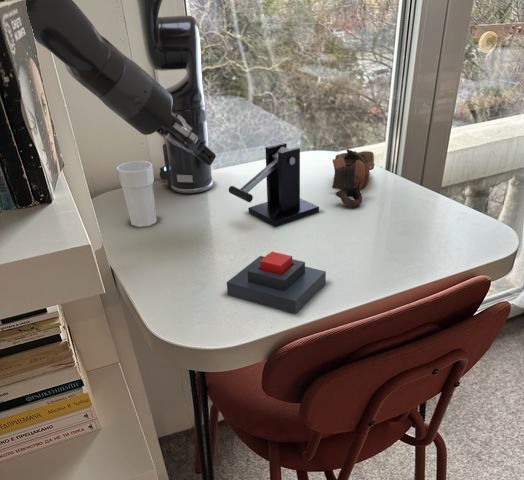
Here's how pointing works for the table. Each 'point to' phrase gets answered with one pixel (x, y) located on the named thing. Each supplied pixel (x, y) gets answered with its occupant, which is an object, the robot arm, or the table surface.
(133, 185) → the cup
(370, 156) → the brown curved piece
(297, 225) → the table surface
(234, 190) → the lever
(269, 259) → the stop button
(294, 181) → the bracket
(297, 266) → the control block
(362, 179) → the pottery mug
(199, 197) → the table surface
